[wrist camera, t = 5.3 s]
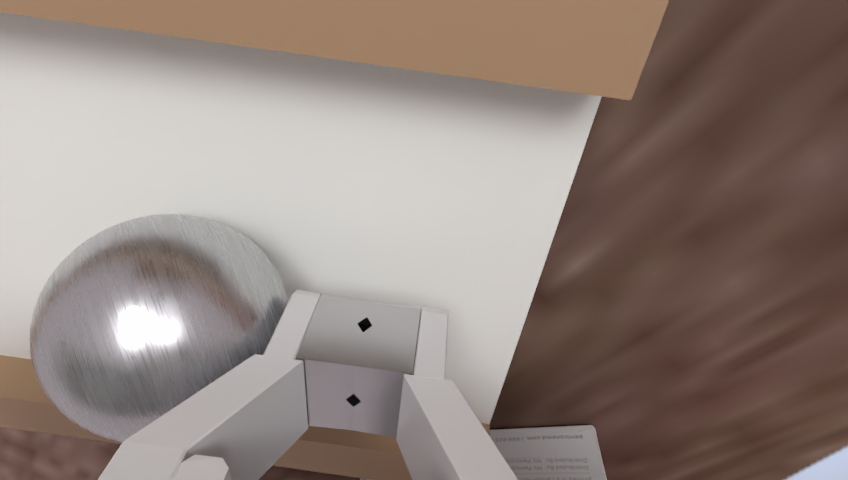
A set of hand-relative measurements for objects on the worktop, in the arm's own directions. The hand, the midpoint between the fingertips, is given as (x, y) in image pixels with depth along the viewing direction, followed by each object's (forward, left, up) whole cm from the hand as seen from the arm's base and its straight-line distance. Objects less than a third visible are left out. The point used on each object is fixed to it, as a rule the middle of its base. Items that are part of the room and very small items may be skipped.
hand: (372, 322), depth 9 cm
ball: (0, -3, +1) cm, 4 cm away
